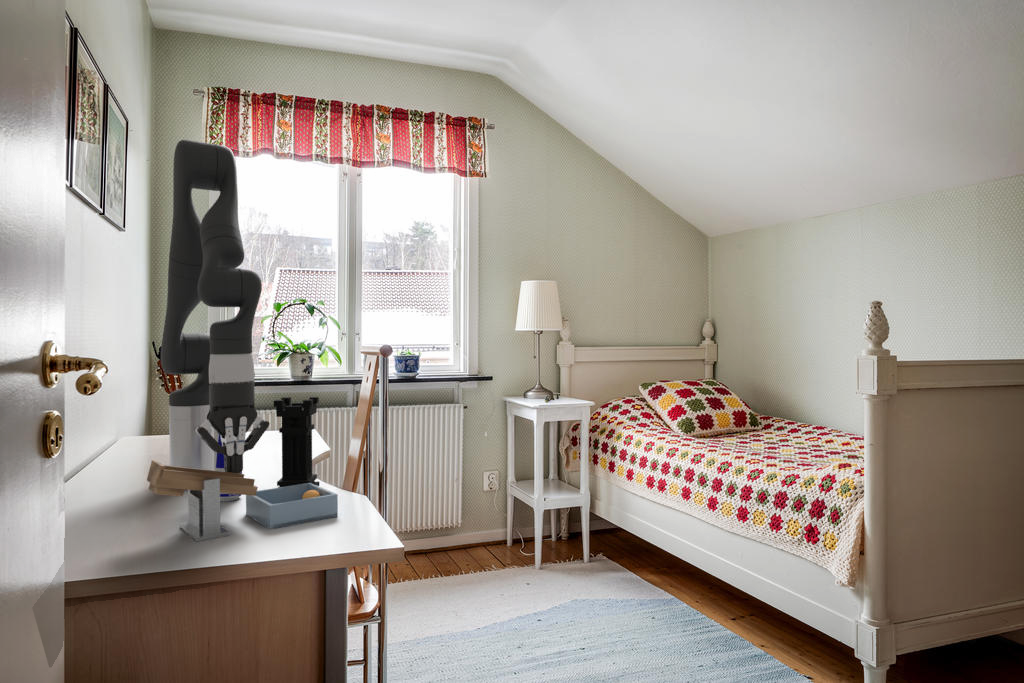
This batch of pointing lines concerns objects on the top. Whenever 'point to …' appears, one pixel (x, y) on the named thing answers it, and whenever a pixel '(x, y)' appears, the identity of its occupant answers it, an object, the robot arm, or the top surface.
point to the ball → (310, 494)
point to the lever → (195, 480)
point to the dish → (291, 505)
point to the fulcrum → (205, 512)
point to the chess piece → (296, 440)
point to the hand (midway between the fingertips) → (233, 475)
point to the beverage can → (222, 470)
